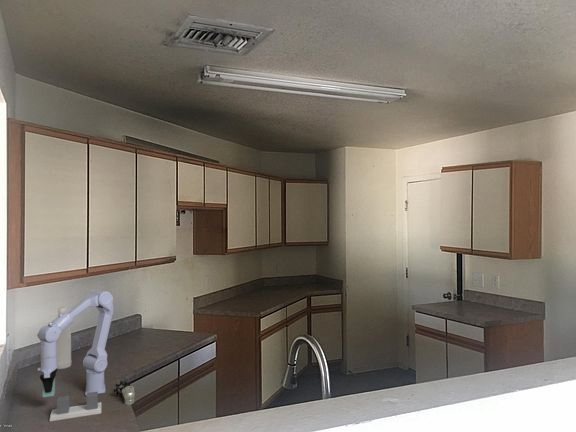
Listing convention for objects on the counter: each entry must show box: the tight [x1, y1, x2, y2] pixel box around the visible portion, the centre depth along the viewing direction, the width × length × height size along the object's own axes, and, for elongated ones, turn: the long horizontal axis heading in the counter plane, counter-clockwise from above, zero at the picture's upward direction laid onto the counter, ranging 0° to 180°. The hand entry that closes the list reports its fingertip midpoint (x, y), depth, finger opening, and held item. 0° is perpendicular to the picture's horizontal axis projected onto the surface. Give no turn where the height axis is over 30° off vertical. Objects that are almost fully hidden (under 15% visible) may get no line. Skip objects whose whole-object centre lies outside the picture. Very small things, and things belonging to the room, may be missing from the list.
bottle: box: [56, 306, 72, 370], centre depth 232 cm, size 8×8×30 cm
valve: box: [113, 380, 136, 406], centre depth 191 cm, size 7×7×12 cm
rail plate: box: [49, 392, 102, 422], centre depth 179 cm, size 9×18×6 cm, turn 112°
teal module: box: [41, 377, 56, 398], centre depth 183 cm, size 4×4×6 cm
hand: (49, 389), depth 184 cm, fingers closed on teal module, 4 cm apart
